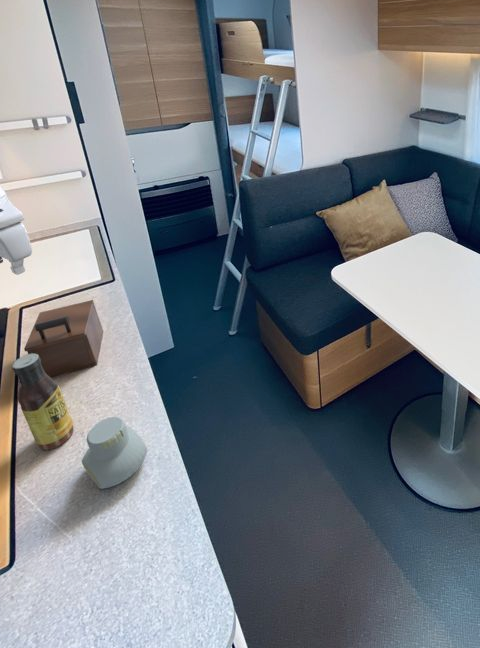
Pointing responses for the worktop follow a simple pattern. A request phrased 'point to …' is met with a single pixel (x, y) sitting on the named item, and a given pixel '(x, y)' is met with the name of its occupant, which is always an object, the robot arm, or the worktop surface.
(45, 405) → the sauce bottle
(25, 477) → the worktop surface
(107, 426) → the air freshener
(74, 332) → the bin lid
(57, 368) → the bin
